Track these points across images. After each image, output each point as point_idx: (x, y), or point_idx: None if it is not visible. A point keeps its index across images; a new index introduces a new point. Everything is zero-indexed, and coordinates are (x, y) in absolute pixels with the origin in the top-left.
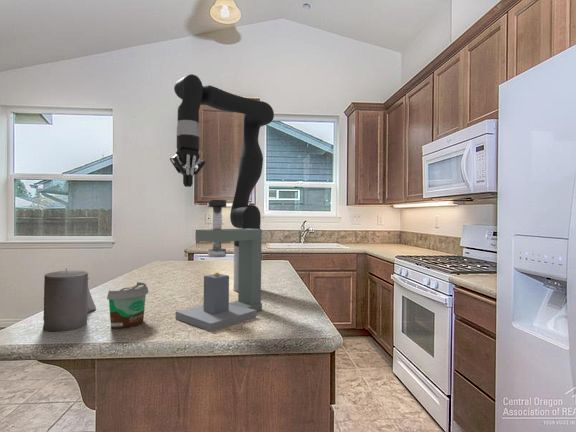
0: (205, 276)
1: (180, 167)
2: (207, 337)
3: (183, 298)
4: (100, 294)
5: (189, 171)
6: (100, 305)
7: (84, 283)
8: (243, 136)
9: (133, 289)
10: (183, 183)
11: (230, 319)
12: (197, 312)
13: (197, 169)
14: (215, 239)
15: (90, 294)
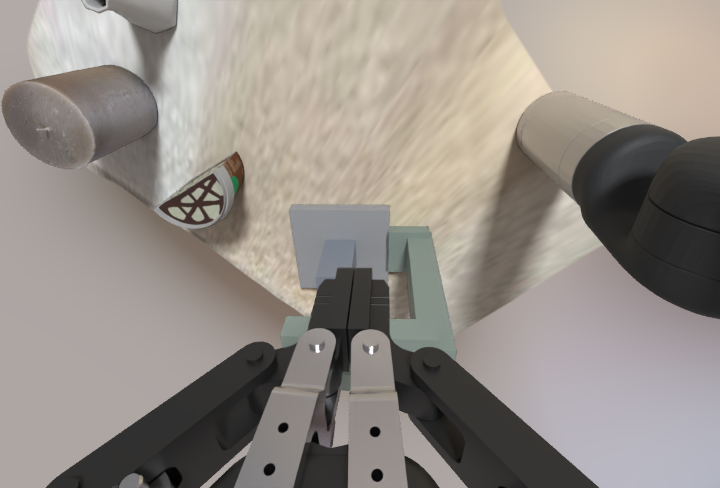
0: (316, 280)
1: (226, 433)
2: (289, 291)
3: (380, 80)
4: None
5: (379, 380)
6: None
7: (103, 153)
8: None
9: (194, 228)
10: (320, 287)
11: None
12: (313, 239)
13: (442, 445)
14: None
15: (143, 7)
